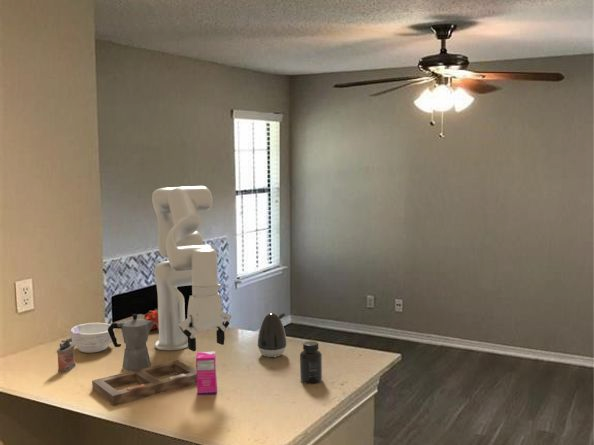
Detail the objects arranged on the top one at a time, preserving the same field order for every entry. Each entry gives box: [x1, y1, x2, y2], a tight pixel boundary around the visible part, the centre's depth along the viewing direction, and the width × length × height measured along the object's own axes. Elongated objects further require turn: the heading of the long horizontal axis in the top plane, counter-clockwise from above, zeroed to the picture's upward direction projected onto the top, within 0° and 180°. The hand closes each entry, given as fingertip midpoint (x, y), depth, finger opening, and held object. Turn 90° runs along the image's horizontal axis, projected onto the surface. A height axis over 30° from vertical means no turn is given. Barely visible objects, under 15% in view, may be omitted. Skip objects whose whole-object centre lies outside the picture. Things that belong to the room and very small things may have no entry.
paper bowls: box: [70, 322, 115, 354], centre depth 237 cm, size 15×15×8 cm
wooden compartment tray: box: [91, 359, 197, 407], centre depth 201 cm, size 29×16×3 cm, turn 129°
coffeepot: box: [108, 313, 155, 372], centre depth 217 cm, size 15×9×18 cm, turn 110°
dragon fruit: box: [143, 308, 159, 331], centre depth 262 cm, size 8×8×12 cm
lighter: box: [56, 337, 76, 374], centre depth 216 cm, size 8×3×10 cm, turn 168°
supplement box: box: [195, 351, 218, 396], centre depth 196 cm, size 6×6×12 cm
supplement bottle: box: [299, 340, 323, 384], centre depth 205 cm, size 7×7×12 cm
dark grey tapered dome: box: [257, 312, 287, 358], centre depth 229 cm, size 10×10×15 cm
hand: (206, 347), depth 195 cm, fingers open, 9 cm apart
